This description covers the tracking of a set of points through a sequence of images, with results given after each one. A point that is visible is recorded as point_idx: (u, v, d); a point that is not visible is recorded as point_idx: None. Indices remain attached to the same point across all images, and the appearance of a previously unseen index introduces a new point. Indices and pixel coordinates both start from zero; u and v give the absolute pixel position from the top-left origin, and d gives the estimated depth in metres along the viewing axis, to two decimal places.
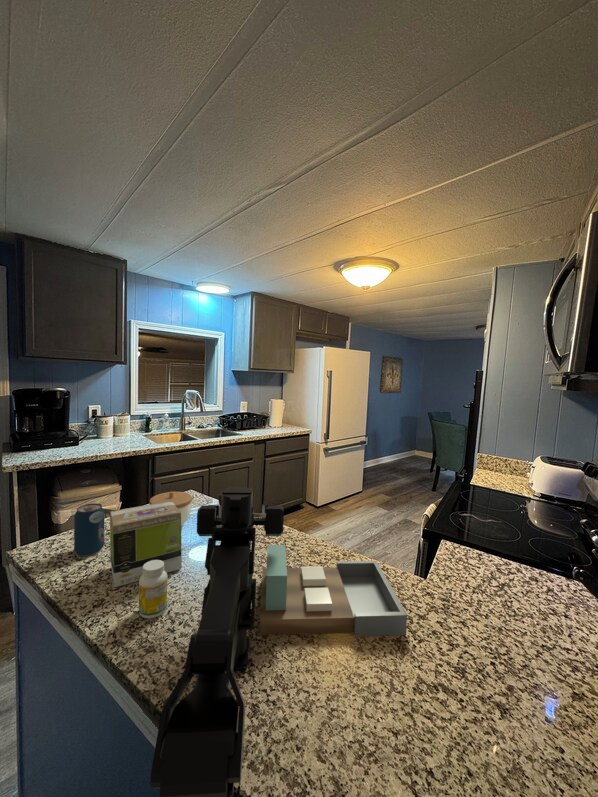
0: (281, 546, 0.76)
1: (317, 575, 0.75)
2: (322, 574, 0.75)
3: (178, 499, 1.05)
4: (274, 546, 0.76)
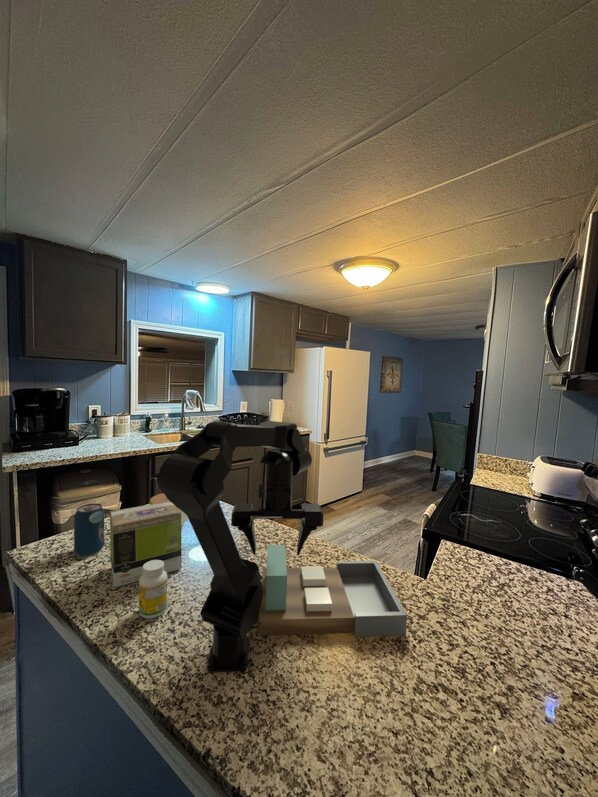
0: (281, 546, 0.76)
1: (317, 575, 0.75)
2: (322, 574, 0.75)
3: None
4: (274, 546, 0.76)
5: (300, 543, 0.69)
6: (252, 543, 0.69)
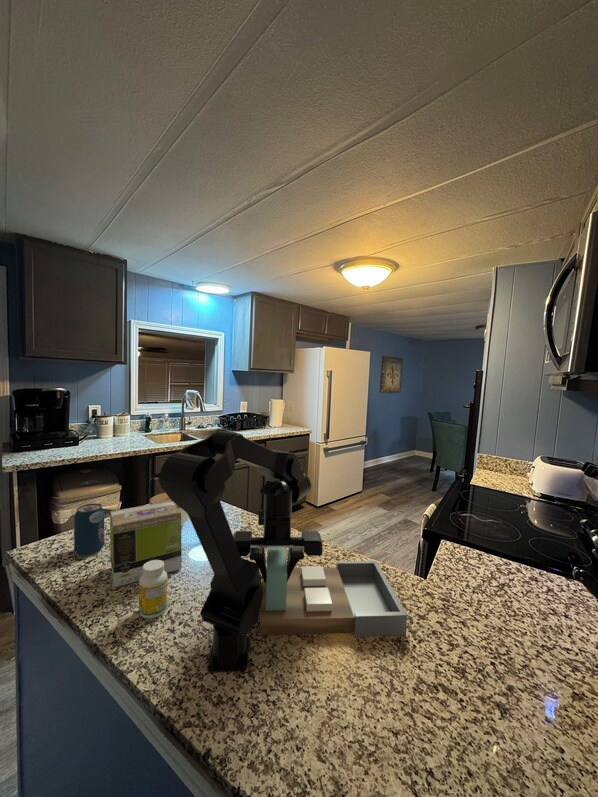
0: None
1: (317, 575, 0.75)
2: (322, 574, 0.75)
3: None
4: None
5: (288, 572, 0.70)
6: (263, 572, 0.69)
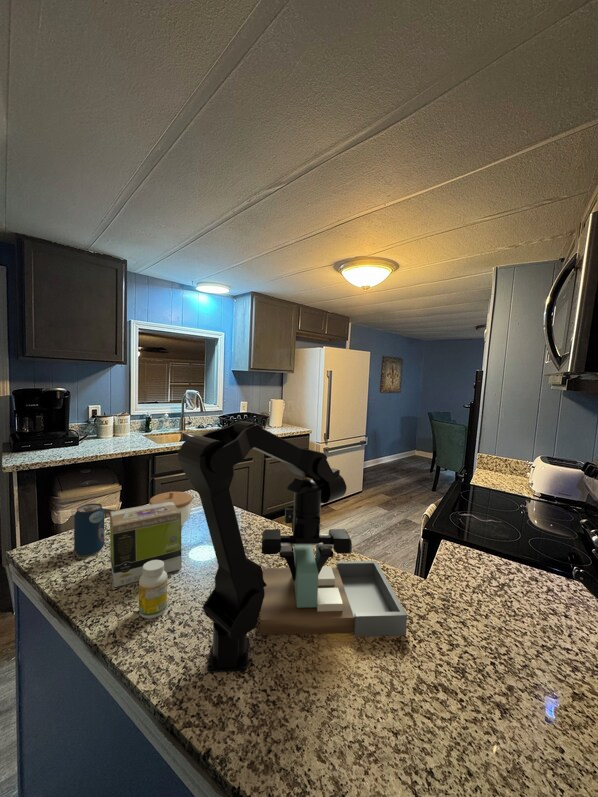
0: (307, 545, 0.77)
1: (326, 575, 0.75)
2: (331, 574, 0.76)
3: (178, 499, 1.05)
4: None
5: None
6: (293, 570, 0.70)
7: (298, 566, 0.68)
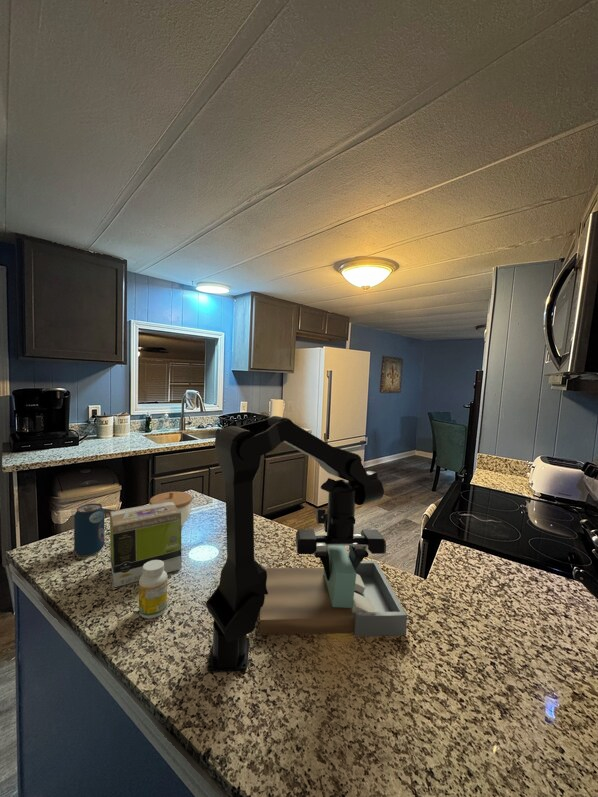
0: (340, 545, 0.77)
1: (357, 581, 0.76)
2: (361, 582, 0.77)
3: (178, 499, 1.05)
4: None
5: None
6: (327, 569, 0.70)
7: (335, 566, 0.68)
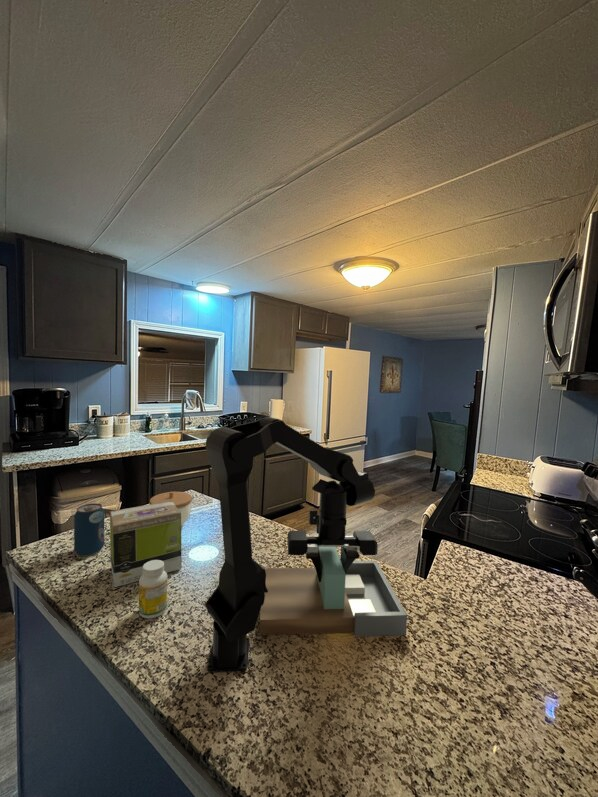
0: None
1: (355, 583, 0.76)
2: (360, 582, 0.77)
3: (178, 499, 1.05)
4: None
5: None
6: (319, 571, 0.70)
7: (325, 568, 0.68)
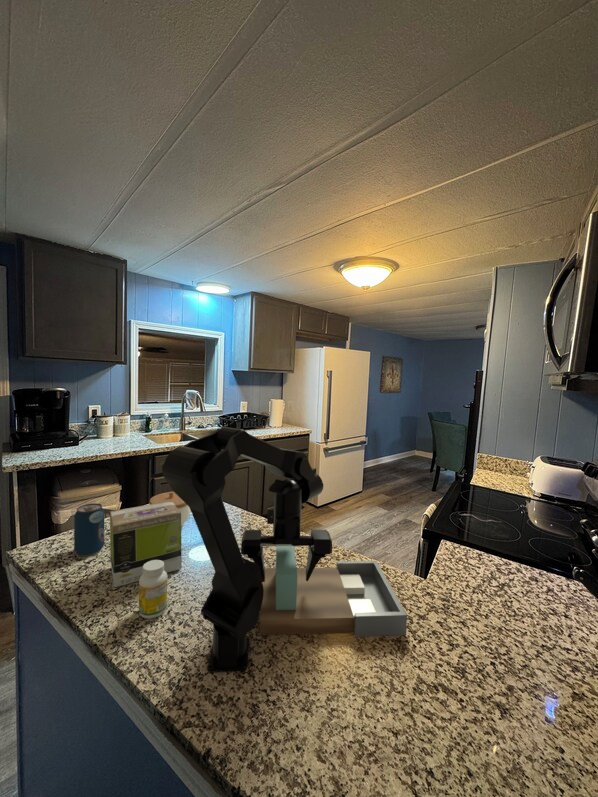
0: (289, 546, 0.76)
1: (355, 583, 0.76)
2: (360, 582, 0.77)
3: (178, 499, 1.05)
4: (283, 546, 0.76)
5: (309, 570, 0.70)
6: (261, 570, 0.69)
7: (278, 568, 0.67)
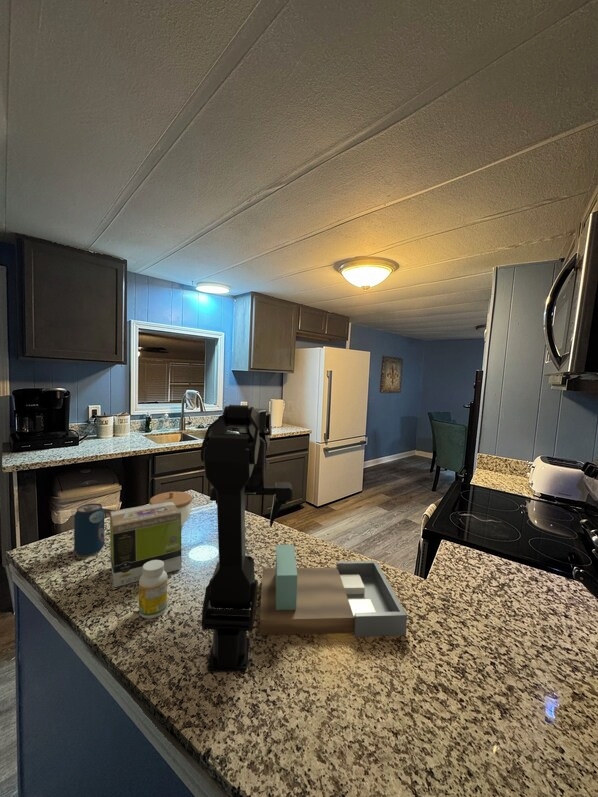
0: (289, 546, 0.76)
1: (355, 583, 0.76)
2: (360, 582, 0.77)
3: (178, 499, 1.05)
4: (283, 546, 0.76)
5: (272, 516, 0.78)
6: None
7: (278, 568, 0.67)
